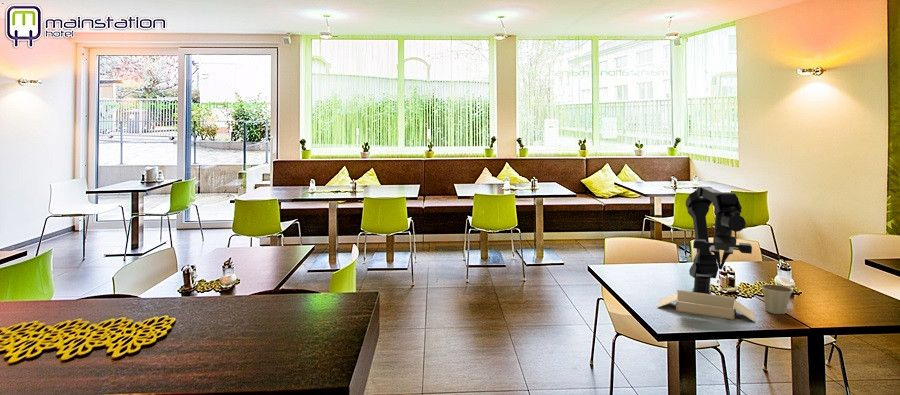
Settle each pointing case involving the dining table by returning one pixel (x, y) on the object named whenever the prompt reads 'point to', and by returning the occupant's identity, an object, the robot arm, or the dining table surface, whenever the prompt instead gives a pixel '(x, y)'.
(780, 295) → the flower pot
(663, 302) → the carton
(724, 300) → the flap
